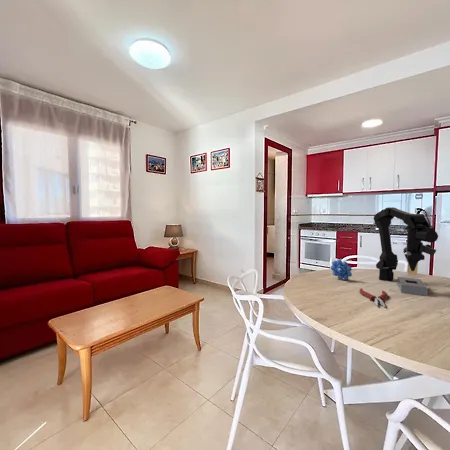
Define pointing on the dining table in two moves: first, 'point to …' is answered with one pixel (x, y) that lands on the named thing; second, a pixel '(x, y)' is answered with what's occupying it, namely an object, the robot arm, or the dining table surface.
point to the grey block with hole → (412, 286)
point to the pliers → (373, 298)
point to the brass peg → (412, 271)
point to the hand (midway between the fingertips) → (412, 270)
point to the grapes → (341, 269)
